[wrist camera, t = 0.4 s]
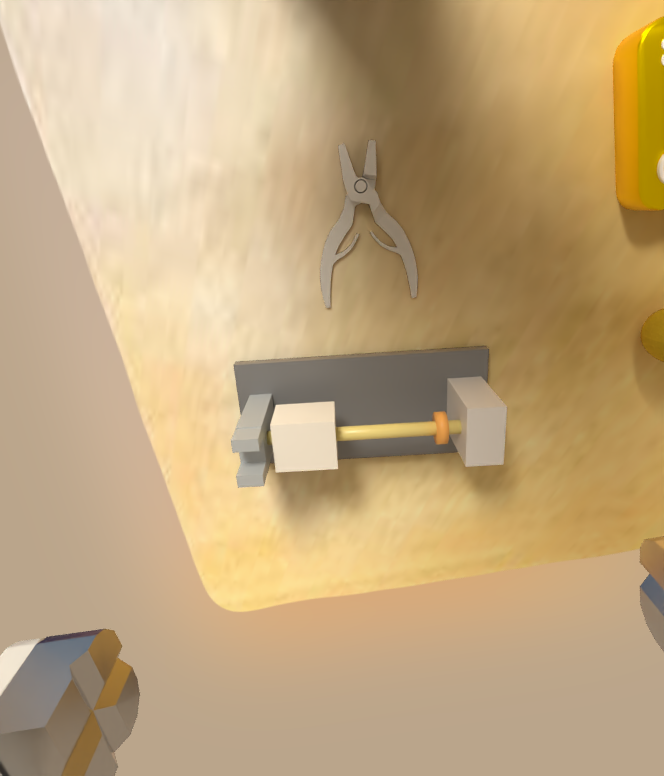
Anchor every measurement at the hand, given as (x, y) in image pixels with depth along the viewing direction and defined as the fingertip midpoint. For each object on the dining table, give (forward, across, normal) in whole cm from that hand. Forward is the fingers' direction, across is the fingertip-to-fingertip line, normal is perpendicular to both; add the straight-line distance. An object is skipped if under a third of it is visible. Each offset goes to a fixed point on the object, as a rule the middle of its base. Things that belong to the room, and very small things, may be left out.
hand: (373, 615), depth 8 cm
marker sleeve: (+41, +6, +14) cm, 44 cm away
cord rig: (+45, 0, +15) cm, 48 cm away
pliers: (+46, -3, -4) cm, 46 cm away
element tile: (+46, -35, -8) cm, 58 cm away
